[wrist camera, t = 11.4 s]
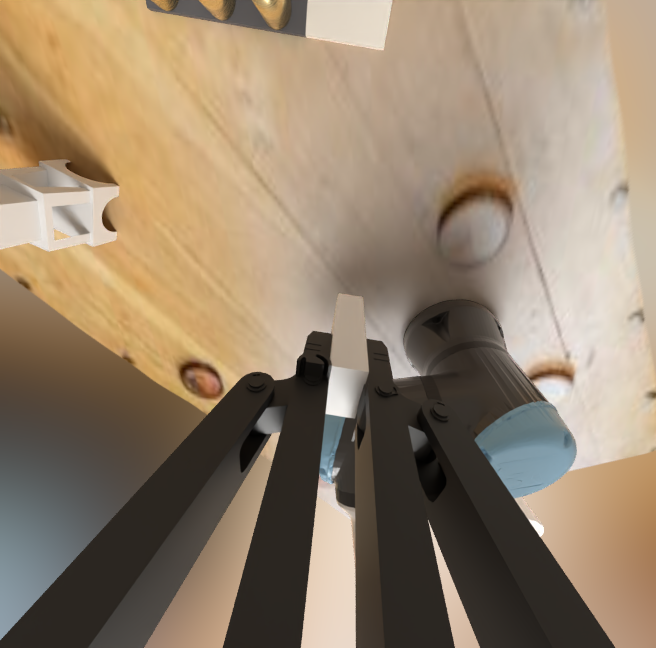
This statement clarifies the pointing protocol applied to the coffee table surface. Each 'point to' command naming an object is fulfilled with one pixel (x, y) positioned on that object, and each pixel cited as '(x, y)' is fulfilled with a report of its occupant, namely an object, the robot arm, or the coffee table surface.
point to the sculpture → (52, 207)
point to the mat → (308, 19)
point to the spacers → (221, 4)
